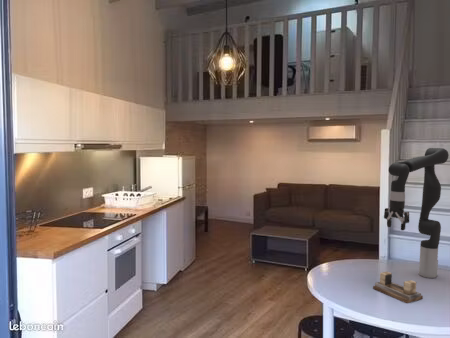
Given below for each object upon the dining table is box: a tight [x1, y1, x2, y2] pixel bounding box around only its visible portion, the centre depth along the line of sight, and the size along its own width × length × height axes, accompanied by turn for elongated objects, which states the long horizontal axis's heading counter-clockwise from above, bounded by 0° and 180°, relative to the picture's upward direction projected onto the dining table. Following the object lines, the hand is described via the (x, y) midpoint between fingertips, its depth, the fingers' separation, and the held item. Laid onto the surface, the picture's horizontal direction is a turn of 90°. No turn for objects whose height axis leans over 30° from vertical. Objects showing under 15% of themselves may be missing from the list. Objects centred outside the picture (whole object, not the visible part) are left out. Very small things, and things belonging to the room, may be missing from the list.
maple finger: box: [403, 279, 417, 295], centre depth 188 cm, size 5×3×7 cm, turn 118°
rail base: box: [372, 271, 424, 304], centre depth 193 cm, size 12×20×8 cm, turn 28°
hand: (395, 228), depth 209 cm, fingers open, 8 cm apart
